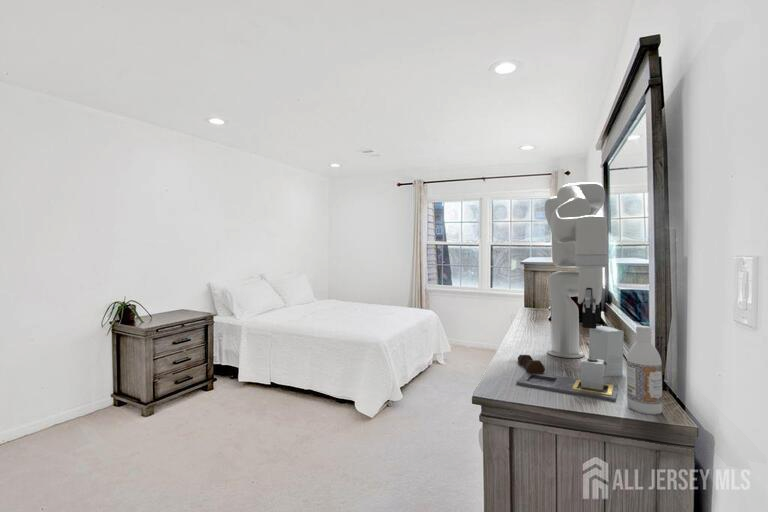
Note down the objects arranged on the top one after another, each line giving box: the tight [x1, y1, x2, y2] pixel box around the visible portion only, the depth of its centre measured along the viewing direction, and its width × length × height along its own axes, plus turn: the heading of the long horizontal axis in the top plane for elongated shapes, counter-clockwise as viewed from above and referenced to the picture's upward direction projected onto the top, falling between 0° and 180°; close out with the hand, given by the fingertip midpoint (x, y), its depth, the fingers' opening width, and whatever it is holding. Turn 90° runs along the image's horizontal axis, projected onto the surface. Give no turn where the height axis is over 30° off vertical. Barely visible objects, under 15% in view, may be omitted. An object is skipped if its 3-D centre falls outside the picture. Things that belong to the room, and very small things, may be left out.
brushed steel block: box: [580, 356, 605, 392], centre depth 103 cm, size 5×5×8 cm
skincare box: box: [588, 325, 625, 377], centre depth 120 cm, size 8×6×15 cm
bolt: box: [517, 354, 546, 374], centre depth 126 cm, size 6×5×15 cm
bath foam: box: [626, 325, 663, 416], centre depth 93 cm, size 7×7×20 cm
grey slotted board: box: [515, 371, 619, 403], centre depth 107 cm, size 12×24×2 cm, turn 56°
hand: (591, 324), depth 104 cm, fingers open, 9 cm apart
